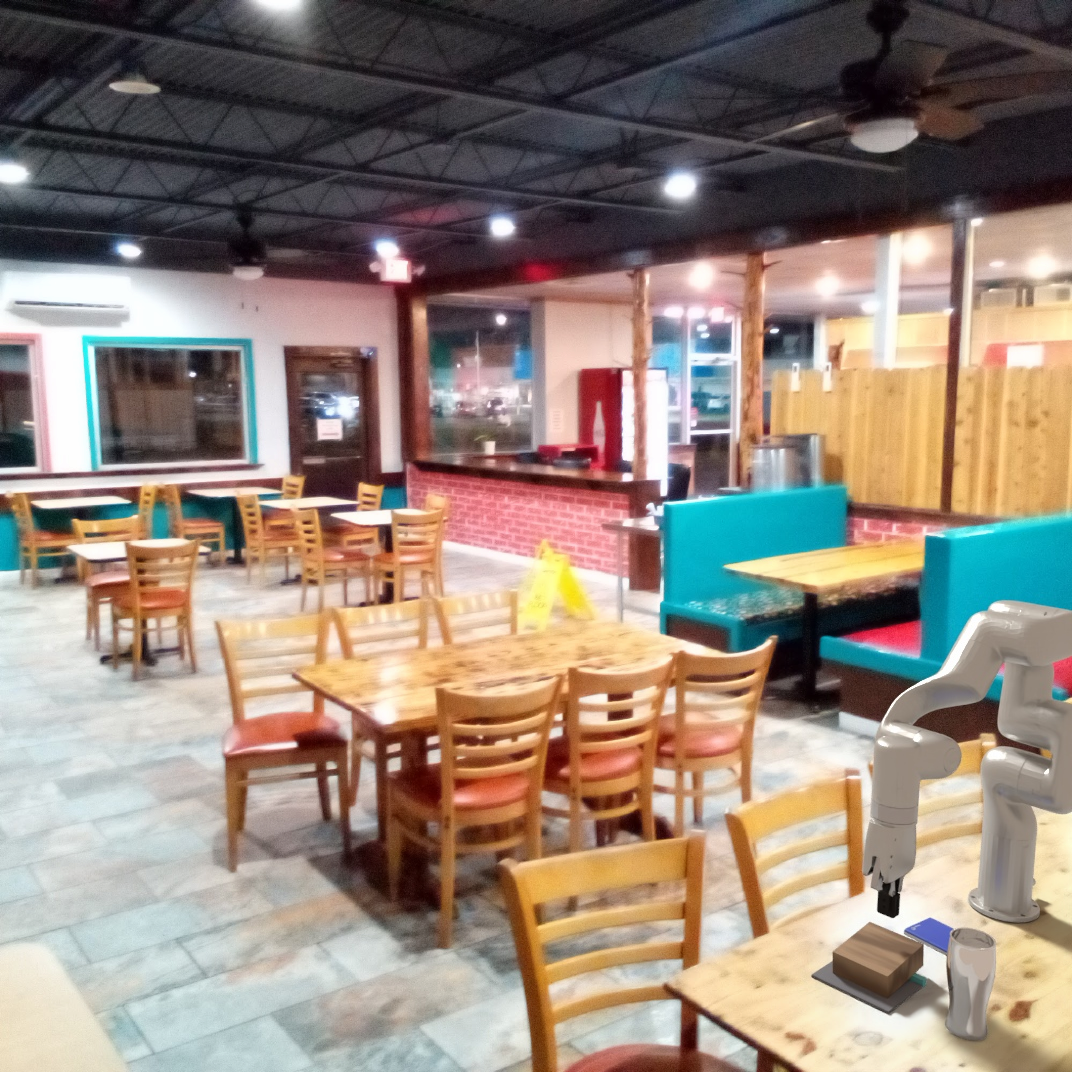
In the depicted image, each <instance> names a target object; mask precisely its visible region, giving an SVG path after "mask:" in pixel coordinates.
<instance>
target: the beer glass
mask: <svg viewBox="0 0 1072 1072" xmlns="http://www.w3.org/2000/svg"><path fill="white" fill-rule="evenodd" d="M996 945H997V942H996V939H995V938H994V937H993V936H992V935H991V934H990V933H988V932H985V931H983V930H980V929H977V928H973V927H965V926H964V927H956V928H954V929H953V930H952V931H951V932H950V937H949V943H948V949H947V955H946V958H945V959H946V961H945V963H946V965H945V966H946V967H945V968H946V979H947V980H946V982H947V989H948V996H949V997H948V998H949V1003H948V1005H949V1006H948V1010H947V1014H946V1016H945V1017H946V1018H945V1022H944V1025H945V1029H947V1031H948V1032H949V1033H951V1034H952V1035H953V1036H956V1038H959V1039H963V1040H966V1041H973V1042H977V1041H978V1042H979V1041H982V1040H984V1039H986V1038H987V1037H988V1033H989V1031H988V1023H987V1010H988V1004H989V1001H990V998H991V994H992V991H993V986H994V983H995V977H996V970H997V946H996Z"/></svg>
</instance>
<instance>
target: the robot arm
mask: <svg viewBox="0 0 1072 1072" xmlns="http://www.w3.org/2000/svg"><path fill="white" fill-rule="evenodd" d="M1071 657H1072V610H1070V609H1065V608H1062V607H1061V608H1059V607H1053V606H1048V605H1041V604H1036V603H1032V602H1031V603H1030V602H1025V601H1020V600H1009V599H1007V600H1005V599H1003V600H997V601H994V602H993V603H991V604H990V605H989V606H988V609H987V610H982V611H979V612H976V613H974V614H973V615H971V616H970V617H969V619H968V620H967V622H966V624H965V625H964V627H963V629H962V630H961V632H960V633H959V635H958V637H957V639H956V641H954V644H953V646H952V648H951V650H950V651H949V653H948V655H947V656H946V659H945V660H944V662H943V663H942V665H941V668H940V669H939V670H938V672H936V673H935V674H933V675H931V676H929V677H927V678H925V679H923V680H921V681H919V682H917V683H915V684H914V685H912V686H911V687H909V688H908V689H905V690H904V691H903V692H902V693H900V694H899V695H898V696H897V697H896V698H895V699H894V700H893V702H892V703H891V705H890V706H889V708H888V709H887V711H886V713H885V714H884V716H883V717H882V720H880V721H881V722H880V723H879V726H878V728H877V730H876V733H875V737H874V743H873V745H874V748H873V761H872V762H873V763H872V777H871V778H872V779H871V792H870V793H871V794H870V795H871V796H870V813H869V816H870V818H871V819H869V823H868V826H867V829H866V830H867V831H866V835H865V840H864V841H865V843H864V849H863V858H862V867H861V868H862V869H861V870H862V875H863V876H865V877H868V876H871V875H872V876H871V881H870V888H871V889H873V890H876V891H877V903H876V912H877V913H879V914H881V915H882V916H886V917H888V918H890V919H894V918H896V917H898V916H900V915H899V914H900V906H901V905H900V904H901V892H902V890H903V886H904V885H903V884H904V883H903V882H904V878H905V876H906V875H907V874H908V873H910V872H911V871H912V870H913V869H914V868H915V864H916V858H917V857H916V856H917V824H918V822H919V821H918V817H919V806H920V805H919V800H920V788H921V787H920V786H921V785H920V784H921V781H924V780H925V781H926V780H927V781H928V780H929V781H930V780H940V779H941V780H942V779H947V778H948V777H950V776H952V775H953V774H954V773H955V772H957V770H958V769H959V767H960V766H961V763H962V758H963V756H962V755H963V753H962V749H961V747H960V745H959V744H958V743H957V741H956V740H954V739H953V738H952V737H950V736H947V735H946V734H943V733H939V732H936V731H932V730H928V729H926V728H923V727H920V726H916V725H914V724H915V723H916V722H917V721H919V719H920V718H922V717H924V716H925V715H927V714H928V713H931V712H934V711H937V710H941V709H945V708H952V707H957V706H964V705H971V704H974V703H979V702H980V701H982V700H984V698H985V697H986V696H987V693H988V692H989V690H990V689H991V686H992V684H993V682H994V680H995V679H996V677H997V675H998V673H999V671H1000V669H1001V668H1002V666H1003V665H1004V672H1003V679H1002V680H1003V681H1002V687H1001V693H1000V700H999V707H998V712H997V713H998V714H997V729H998V732H999V733H1000V734H1001V735H1002V736H1003V737H1005V738H1007V739H1009V740H1011V741H1014V742H1017V743H1020V744H1024V745H1027V746H1030V747H1034V748H1038V749H1041V750H1045V751H1048V752H1050V756H1051V758H1050V757H1048V756H1047V757H1046V756H1043V755H1040V754H1037V753H1035V752H1031V751H1028V750H1025V749H1021V748H1016V747H1012V746H1005V745H1001V746H995V747H992V748H990V749H989V750H988V751H986V752H985V754H984V755H983V757H982V759H981V762H980V780H981V788H982V797H983V798H982V801H983V802H982V803H983V809H982V825H981V836H980V837H981V838H980V851H979V863H978V864H979V865H978V879H977V880H978V881H977V882H978V883H977V887H975V888H973V889H972V890H971V889H970V891H969V893H968V897H967V898H968V899H967V900H968V903H969V905H970V906H971V907H972V908H973V909H974V910H976V911H977V912H979V913H980V914H982V915H984V916H986V917H989V918H992V919H995V920H999V921H1003V922H1009V923H1029V922H1033V921H1035V920H1036V919H1038V918H1039V917H1040V914H1041V912H1040V911H1041V908H1040V906H1039V903H1037V901H1036V900H1035V899H1033V889H1034V888H1033V887H1035V885H1036V884H1037V883H1036V882H1037V881H1036V879H1035V878H1034V875H1035V874H1034V872H1035V863H1036V862H1035V861H1036V848H1037V836H1038V820H1037V817H1036V814H1035V811H1034V809H1033V807H1034V808H1036V809H1039V810H1043V811H1046V812H1049V813H1052V814H1055V815H1068V814H1071V813H1072V702H1067V701H1062V700H1058V699H1054V698H1053V686H1054V678H1055V668H1054V663H1057V662H1059V661H1060V662H1061V661H1062V660H1063V661H1064V660H1066V659H1068V658H1071Z"/></svg>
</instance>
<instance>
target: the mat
mask: <svg viewBox="0 0 1072 1072" xmlns="http://www.w3.org/2000/svg"><path fill="white" fill-rule="evenodd" d="M811 978H813V979H815V980H817V981H820V982H821V981H822V983H823V982H824V984H825V985H827V986H830V987H831V988H834V989H835V990H838V991H840V992H843V993H844V994H847V995H849V996H850V997H852V998H855V999H857V1000H859V1001H861V1002H862V1003H865V1004H867V1005H869V1006H870V1007H873V1008H875V1009H877V1010H880V1011H882V1012H884V1013H886V1014H888V1015H889V1014H890V1013H891V1012H893V1011H894V1010H896V1009H897V1008H898V1007H900V1006H901V1005H902V1004H903V1003H905V1002H906V1001H907V1000H908V999H909V998H911V997H912V996H913V995H915V994H916V993H917V992H919V991H920V990H921V989H923V987H922V986H921V985H919V984H917V983H915V982H912V981H910V980H907V981H906V982H905V983H904V984H903V985H902V986H901V987H900V988H898V989H897V990H896V991H895V992H894V993H893V994H892V995H891V996H890V997H889V998H888V999H887V998H885V997H883V996H881V995H879V994H876V993H874V992H872V991H870V990H868V989H866V988H864V987H862V986H859V985H857V984H855V983H853V982H851V981H849V980H847V979H845V978H843V977H840V976H838V975H836V974H834V973H833V960H831V961H830V962H829V963H827V964H825V965H823V967H821V968H819V969H818V970H816V971H814V972H813V973H811Z"/></svg>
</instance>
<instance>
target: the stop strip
mask: <svg viewBox="0 0 1072 1072" xmlns="http://www.w3.org/2000/svg"><path fill="white" fill-rule="evenodd" d="M927 979H928V978H927V977H925V976H923V975H921V974H918V972H916V973H915V974H914V975H913V976H911V977H910V978H909V979H908V980H910V981H912V982H915V983H917V984H919V985H921V986H922V988H924V987H925V986H927Z"/></svg>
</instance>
